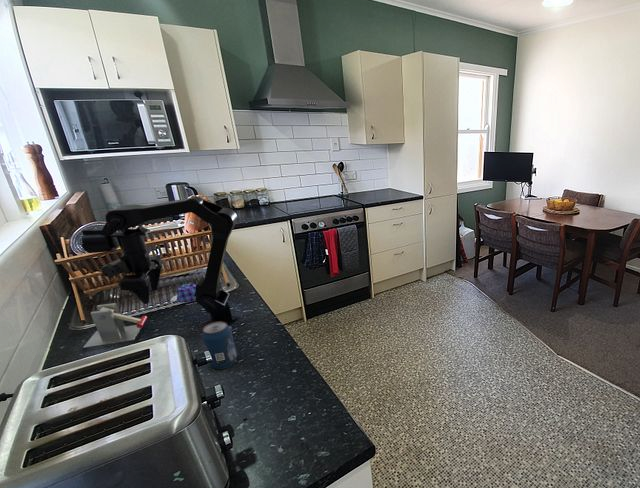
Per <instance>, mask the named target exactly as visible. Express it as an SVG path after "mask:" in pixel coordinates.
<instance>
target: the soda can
mask: <svg viewBox="0 0 640 488" xmlns="http://www.w3.org/2000/svg"><path fill="white" fill-rule="evenodd" d="M201 340H202V343H203V346H204V349H205V352H206V351H209V352H210V353H211V355H212V357H213V361H212V362H211V363H210V364H209V365H210V366H211V367H212V368H214V369H217V370H223V369H227V368H229V367H231V366H232V365H234V363H235V362H236V360H237V358H238V353H237V349H236V345H235V341H234V336H233V333H232V329H231V326H229V324H228V325H227V323H226V322H223V321H217V322H212V321H211V322H210V323H208V324H206V325H204V326H203V328H202V332H201Z"/></svg>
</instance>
